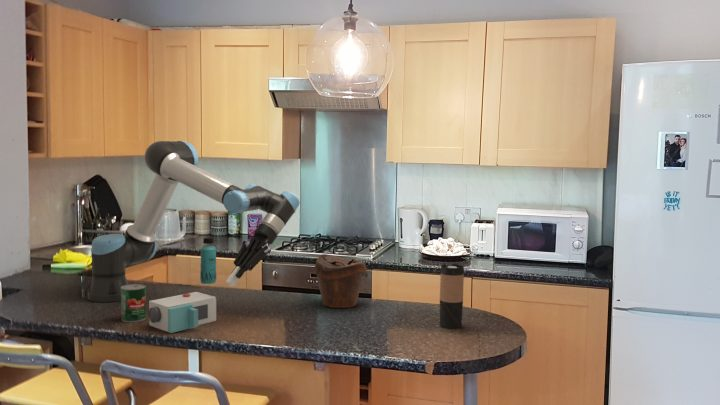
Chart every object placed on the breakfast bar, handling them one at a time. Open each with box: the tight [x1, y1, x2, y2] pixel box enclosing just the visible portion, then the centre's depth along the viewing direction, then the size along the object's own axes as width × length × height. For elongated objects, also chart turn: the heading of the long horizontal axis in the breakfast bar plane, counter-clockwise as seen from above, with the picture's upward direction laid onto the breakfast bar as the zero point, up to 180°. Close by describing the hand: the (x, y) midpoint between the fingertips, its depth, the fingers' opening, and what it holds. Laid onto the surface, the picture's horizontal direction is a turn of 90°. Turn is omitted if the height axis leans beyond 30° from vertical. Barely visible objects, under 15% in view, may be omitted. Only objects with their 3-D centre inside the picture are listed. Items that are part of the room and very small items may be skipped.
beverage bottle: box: [199, 237, 217, 285], centre depth 264 cm, size 6×7×20 cm
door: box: [167, 304, 199, 334], centre depth 201 cm, size 4×8×8 cm, turn 139°
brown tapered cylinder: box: [313, 253, 369, 309], centre depth 239 cm, size 18×20×18 cm
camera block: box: [147, 291, 217, 333], centre depth 210 cm, size 11×20×9 cm, turn 139°
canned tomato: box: [120, 283, 147, 323], centre depth 215 cm, size 8×8×11 cm
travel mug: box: [439, 263, 465, 329], centre depth 213 cm, size 8×8×20 cm
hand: (229, 284), depth 211 cm, fingers closed
